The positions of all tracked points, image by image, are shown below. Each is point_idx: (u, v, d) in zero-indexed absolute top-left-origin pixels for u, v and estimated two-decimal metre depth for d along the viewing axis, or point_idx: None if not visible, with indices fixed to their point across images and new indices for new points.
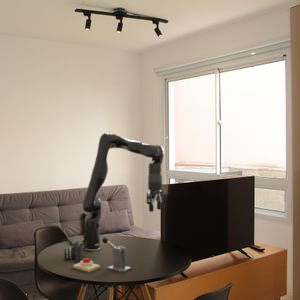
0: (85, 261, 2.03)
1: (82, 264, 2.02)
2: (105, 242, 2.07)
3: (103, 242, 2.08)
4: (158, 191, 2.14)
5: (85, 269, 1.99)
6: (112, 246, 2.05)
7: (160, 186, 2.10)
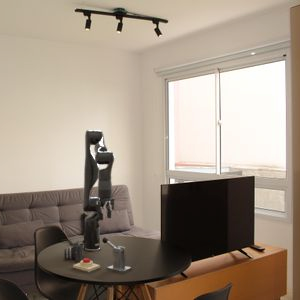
0: (85, 261, 2.03)
1: (82, 264, 2.02)
2: (105, 242, 2.07)
3: (103, 242, 2.08)
4: (108, 198, 2.09)
5: (85, 269, 1.99)
6: (112, 246, 2.05)
7: (110, 193, 2.06)
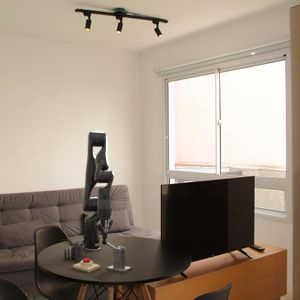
0: (85, 261, 2.03)
1: (82, 264, 2.02)
2: (105, 244, 2.07)
3: (103, 244, 2.08)
4: (108, 217, 2.09)
5: (85, 269, 1.99)
6: (112, 247, 2.05)
7: (109, 212, 2.06)
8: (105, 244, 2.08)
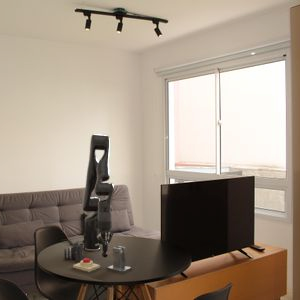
0: (85, 261, 2.03)
1: (82, 264, 2.02)
2: (105, 255, 2.07)
3: (104, 256, 2.08)
4: (108, 229, 2.09)
5: (85, 269, 1.99)
6: (112, 252, 2.05)
7: (109, 225, 2.06)
8: (106, 255, 2.07)
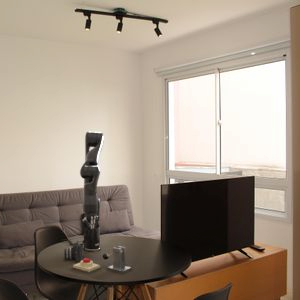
0: (85, 261, 2.03)
1: (82, 264, 2.02)
2: (106, 257, 2.07)
3: (105, 258, 2.07)
4: (94, 213, 2.06)
5: (85, 269, 1.99)
6: (112, 253, 2.05)
7: (95, 208, 2.03)
8: (107, 257, 2.07)
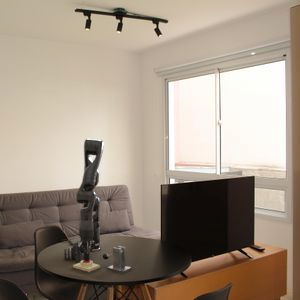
0: (85, 262, 2.03)
1: (82, 264, 2.02)
2: (106, 257, 2.07)
3: (105, 258, 2.07)
4: (90, 238, 2.05)
5: (85, 269, 1.99)
6: (112, 253, 2.05)
7: (91, 234, 2.01)
8: (107, 257, 2.07)
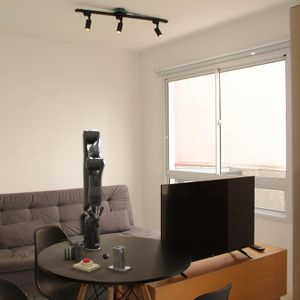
0: (85, 261, 2.03)
1: (82, 264, 2.02)
2: (106, 257, 2.07)
3: (105, 258, 2.07)
4: (98, 204, 2.14)
5: (85, 269, 1.99)
6: (112, 253, 2.05)
7: (100, 199, 2.11)
8: (107, 257, 2.07)
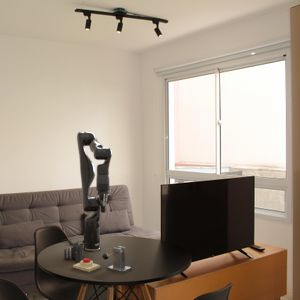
0: (85, 261, 2.03)
1: (82, 264, 2.02)
2: (106, 257, 2.07)
3: (105, 258, 2.07)
4: (106, 192, 2.22)
5: (85, 269, 1.99)
6: (112, 253, 2.05)
7: (107, 187, 2.19)
8: (107, 257, 2.07)
